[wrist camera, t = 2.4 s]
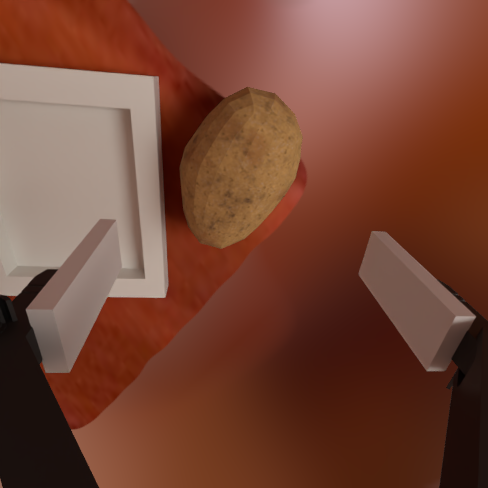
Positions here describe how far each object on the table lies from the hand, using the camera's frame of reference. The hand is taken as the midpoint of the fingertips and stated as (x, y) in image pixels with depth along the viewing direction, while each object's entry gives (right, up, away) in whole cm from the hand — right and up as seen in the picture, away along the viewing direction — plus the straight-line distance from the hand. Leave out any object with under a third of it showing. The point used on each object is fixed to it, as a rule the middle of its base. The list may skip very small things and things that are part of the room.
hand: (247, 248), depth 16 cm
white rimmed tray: (-17, +5, +15) cm, 23 cm away
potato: (-1, +8, +15) cm, 17 cm away
